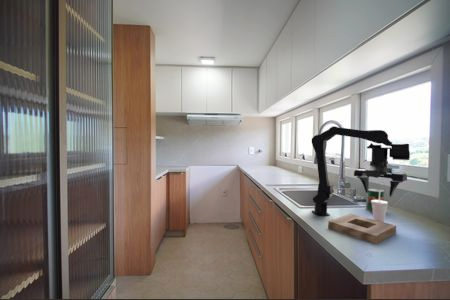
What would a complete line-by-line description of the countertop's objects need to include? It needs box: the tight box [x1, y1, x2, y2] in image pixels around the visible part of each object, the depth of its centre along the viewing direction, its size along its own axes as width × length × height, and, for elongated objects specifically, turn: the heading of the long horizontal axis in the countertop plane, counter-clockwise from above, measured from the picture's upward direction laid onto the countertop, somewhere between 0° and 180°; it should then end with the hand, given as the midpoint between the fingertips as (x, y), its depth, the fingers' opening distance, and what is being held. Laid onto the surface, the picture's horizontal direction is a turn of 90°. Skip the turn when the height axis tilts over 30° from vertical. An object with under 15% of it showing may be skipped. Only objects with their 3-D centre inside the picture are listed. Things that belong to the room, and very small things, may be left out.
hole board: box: [327, 213, 397, 245], centre depth 93 cm, size 18×18×3 cm
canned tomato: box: [365, 187, 385, 213], centre depth 121 cm, size 8×8×11 cm
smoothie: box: [371, 192, 389, 222], centre depth 102 cm, size 6×6×14 cm
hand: (378, 194), depth 100 cm, fingers open, 9 cm apart
